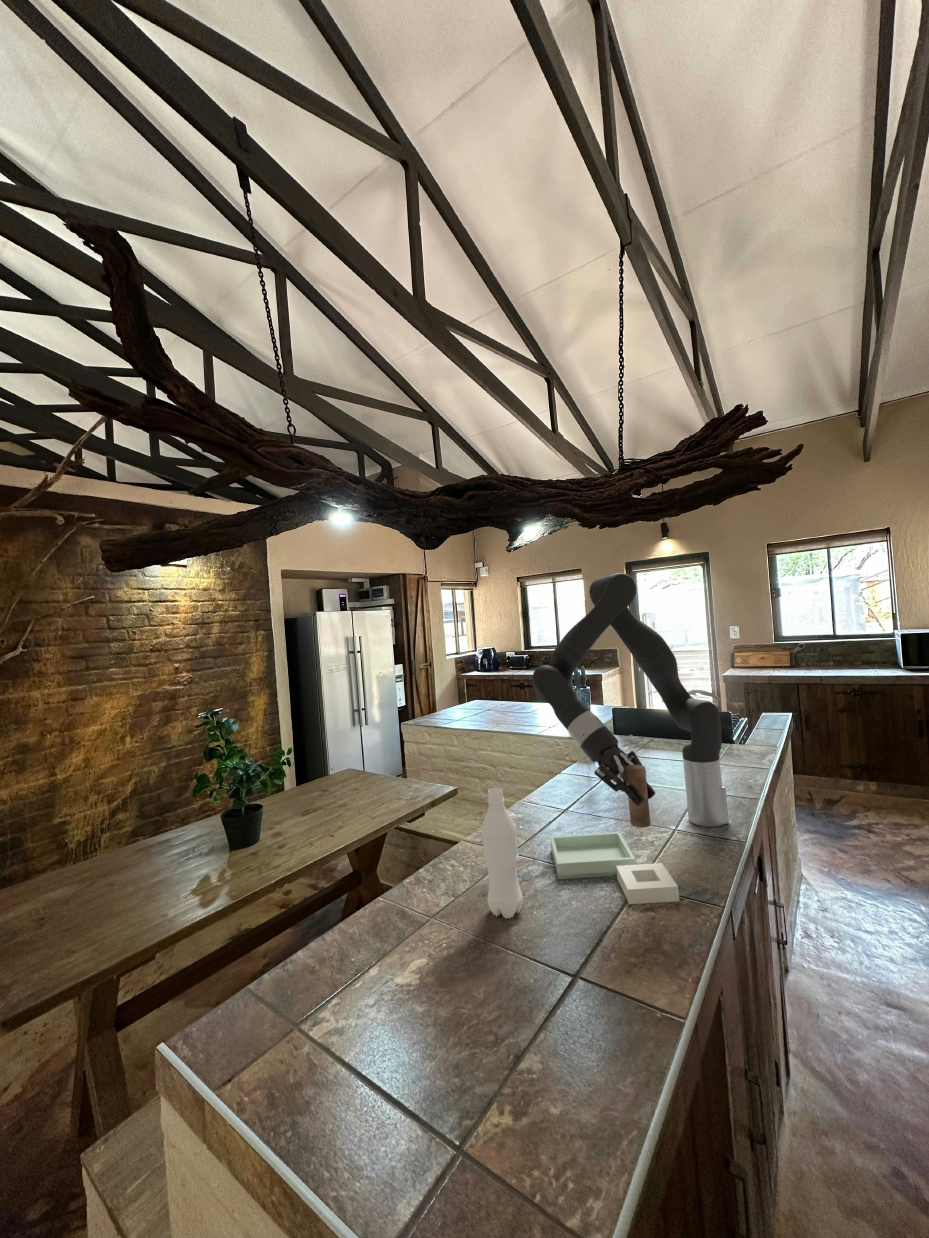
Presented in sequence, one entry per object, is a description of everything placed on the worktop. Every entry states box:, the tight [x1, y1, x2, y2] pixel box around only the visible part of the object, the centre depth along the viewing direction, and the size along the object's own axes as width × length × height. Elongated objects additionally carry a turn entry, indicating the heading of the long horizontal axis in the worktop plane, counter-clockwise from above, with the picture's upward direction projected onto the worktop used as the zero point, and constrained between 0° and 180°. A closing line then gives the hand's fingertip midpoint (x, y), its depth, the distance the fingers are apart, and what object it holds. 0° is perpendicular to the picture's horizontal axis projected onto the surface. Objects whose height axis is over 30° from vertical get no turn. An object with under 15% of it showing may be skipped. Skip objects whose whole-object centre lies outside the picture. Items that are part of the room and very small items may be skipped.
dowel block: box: [616, 862, 680, 905], centre depth 108 cm, size 10×10×3 cm
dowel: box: [625, 764, 651, 829], centre depth 108 cm, size 4×4×12 cm
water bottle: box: [481, 787, 524, 919], centre depth 105 cm, size 7×7×25 cm
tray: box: [549, 831, 637, 880], centre depth 123 cm, size 18×15×4 cm
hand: (646, 799), depth 107 cm, fingers closed on dowel, 4 cm apart
